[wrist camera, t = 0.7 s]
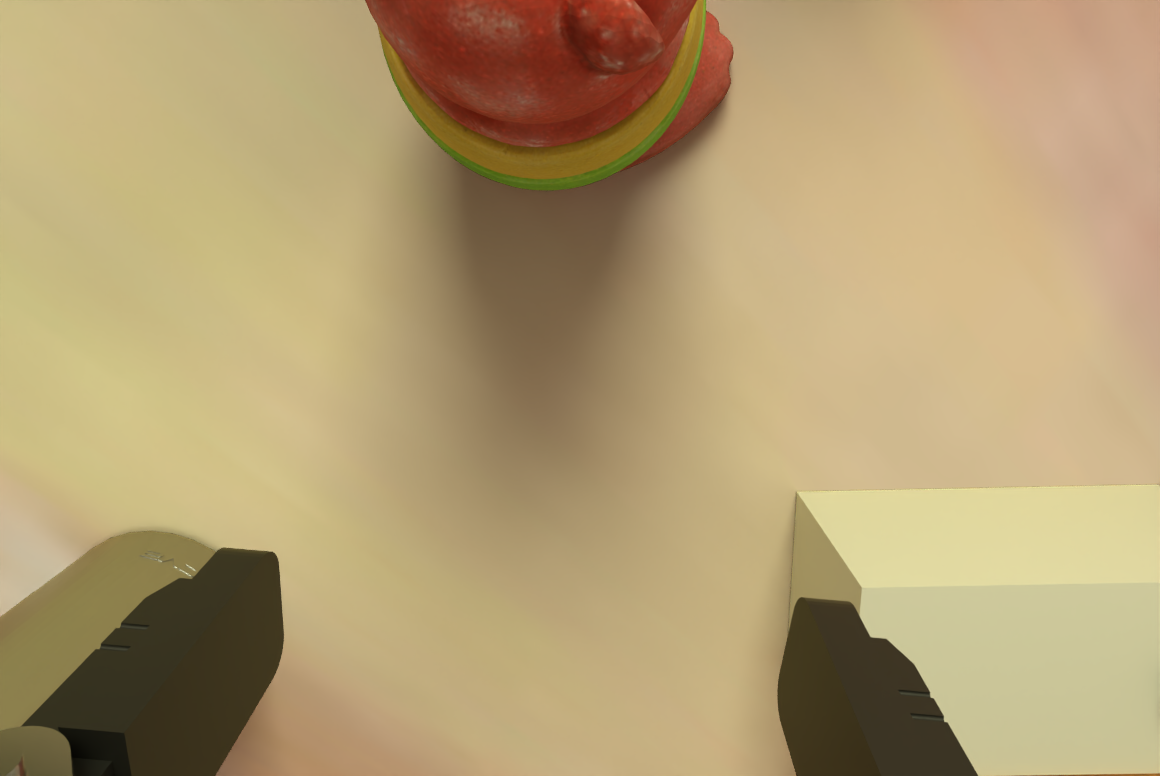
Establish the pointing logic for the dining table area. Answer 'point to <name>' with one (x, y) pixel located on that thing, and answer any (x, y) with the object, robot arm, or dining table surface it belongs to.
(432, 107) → the stacking bear
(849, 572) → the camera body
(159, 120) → the dining table surface
